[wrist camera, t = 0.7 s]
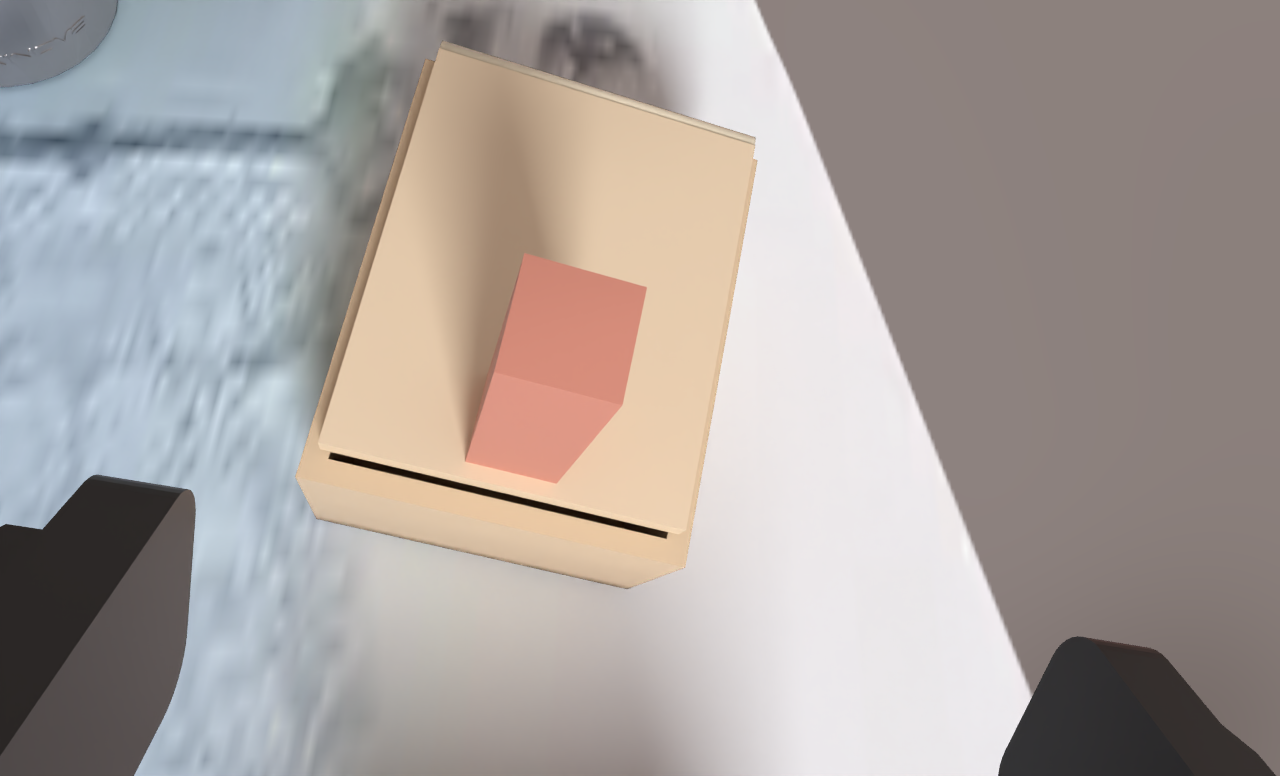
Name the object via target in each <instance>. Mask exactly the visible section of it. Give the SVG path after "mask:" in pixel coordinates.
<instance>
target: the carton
mask: <svg viewBox="0 0 1280 776" xmlns="http://www.w3.org/2000/svg"><path fill="white" fill-rule="evenodd" d="M434 63H435V61H432V60H428V59H425V62H424V65H423V69H422V72H421V75H420V78H419V81H418V85H417V88H416V91H415V94H414V98H413V101H412V104H411V107H410V110H409V114H408V117H407V120H406V123H405V126H404V130H403V133H402V136H401V139H400V142H399V146H398V149H397V152H396V155H395V159H394V162H393V165H392V168H391V171H390V175H389V178H388V181H387V184H386V187H385V191H384V194H383V197H382V200H381V203H380V207H379V210H378V213H377V216H376V219H375V223H374V226H373V229H372V232H371V236H370V239H369V242H368V245H367V248H366V252H365V255H364V258H363V261H362V264H361V268H360V271H359V274H358V277H357V280H356V284H355V287H354V290H353V293H352V297H351V300H350V303H349V306H348V309H347V313H346V316H345V319H344V322H343V325H342V329H341V332H340V335H339V338H338V341H337V345H336V348H335V351H334V354H333V358H332V361H331V364H330V367H329V370H328V374H327V377H326V380H325V383H324V386H323V390H322V393H321V396H320V399H319V402H318V406H317V409H316V412H315V415H314V419H313V422H312V425H311V428H310V431H309V435H308V438H307V441H306V444H305V447H304V451H303V454H302V457H301V460H300V463H299V467H298V470H297V473H296V476H295V477H296V479H297V481H298V483H299V485H300V487H301V489H302V491H303V493H304V495H305V497H306V499H307V501H308V503H309V505H310V507H311V509H312V511H313V513H314V515H315V517H316V519H320V520H324V521H329V522H333V523H338V524H342V525H346V526H351V527H355V528H360V529H364V530H368V531H373V532H377V533H382V534H386V535H391V536H395V537H399V538H404V539H408V540H413V541H417V542H421V543H426V544H430V545H435V546H439V547H444V548H448V549H452V550H457V551H461V552H466V553H470V554H474V555H479V556H483V557H488V558H492V559H497V560H501V561H505V562H510V563H514V564H519V565H523V566H527V567H532V568H536V569H541V570H545V571H550V572H554V573H558V574H563V575H567V576H572V577H576V578H580V579H585V580H589V581H594V582H598V583H603V584H607V585H611V586H616V587H620V588H625V589H629V588H631V587H634V586H637V585H639V584H642V583H645V582H648V581H650V580H653V579H656V578H658V577H661V576H664V575H666V574H669V573H672V572H675V571H677V570H680V569H683V568H685V565H686V560H687V554H688V548H689V543H690V537H691V531H692V526H693V520H694V515H695V509H696V503H697V498H698V492H699V486H700V481H701V475H702V470H703V464H704V458H705V453H706V447H707V441H708V436H709V430H710V425H711V419H712V413H713V408H714V402H715V396H716V391H717V385H718V380H719V374H720V368H721V363H722V357H723V351H724V346H725V340H726V335H727V329H728V323H729V318H730V312H731V306H732V301H733V295H734V289H735V284H736V278H737V273H738V267H739V261H740V256H741V250H742V244H743V239H744V233H745V228H746V222H747V216H748V211H749V205H750V199H751V194H752V188H753V183H754V177H755V171H756V166H757V160H755V159H753V160H752V166H751V172H750V177H749V183H748V188H747V194H746V199H745V205H744V211H743V216H742V222H741V227H740V233H739V238H738V244H737V250H736V255H735V261H734V266H733V272H732V277H731V283H730V289H729V294H728V300H727V305H726V311H725V316H724V322H723V328H722V333H721V339H720V344H719V350H718V355H717V361H716V367H715V372H714V378H713V383H712V389H711V394H710V400H709V406H708V411H707V417H706V422H705V428H704V433H703V439H702V445H701V450H700V456H699V461H698V467H697V472H696V478H695V484H694V489H693V495H692V500H691V506H690V511H689V517H688V523H687V528H686V531H684V532H682V533H680V534H674V533H670V532H666V531H661V530H657V529H653V528H649V527H644V526H640V525H636V524H632V523H628V522H623V521H619V520H615V519H611V518H607V517H602V516H598V515H594V514H590V513H586V512H581V511H577V510H573V509H569V508H565V507H560V506H556V505H552V504H548V503H544V502H539V501H535V500H531V499H527V498H523V497H518V496H514V495H510V494H506V493H501V492H497V491H493V490H489V489H485V488H480V487H476V486H472V485H468V484H464V483H459V482H455V481H451V480H447V479H443V478H438V477H434V476H430V475H426V474H422V473H417V472H413V471H409V470H405V469H401V468H396V467H392V466H388V465H384V464H380V463H375V462H371V461H367V460H363V459H358V458H354V457H350V456H346V455H342V454H337V453H333V452H329V451H325V450H321V449H320V447H319V445H318V440H319V437H320V434H321V431H322V427H323V424H324V421H325V418H326V414H327V411H328V408H329V405H330V401H331V398H332V395H333V392H334V388H335V385H336V382H337V379H338V375H339V372H340V369H341V366H342V362H343V359H344V356H345V353H346V349H347V346H348V343H349V340H350V336H351V333H352V330H353V327H354V323H355V320H356V317H357V314H358V310H359V307H360V304H361V301H362V297H363V294H364V291H365V288H366V284H367V281H368V278H369V275H370V271H371V268H372V265H373V262H374V258H375V255H376V252H377V249H378V245H379V242H380V239H381V236H382V232H383V229H384V226H385V223H386V219H387V216H388V213H389V210H390V206H391V203H392V200H393V197H394V193H395V190H396V187H397V184H398V180H399V177H400V174H401V171H402V167H403V164H404V161H405V158H406V154H407V151H408V148H409V144H410V141H411V138H412V135H413V131H414V128H415V125H416V122H417V118H418V115H419V112H420V109H421V105H422V102H423V99H424V96H425V92H426V89H427V86H428V83H429V79H430V76H431V73H432V70H433V66H434Z"/></svg>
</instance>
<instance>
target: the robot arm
mask: <svg viewBox="0 0 1280 776" xmlns="http://www.w3.org/2000/svg"><path fill="white" fill-rule="evenodd" d="M116 6H117V0H0V87H12V86H19V85H26V84H33V83H36V82H39V81H42V80H45V79H49V78H52V77H55V76H57V75H59V74H61V73H63V72H65V71H67V70H68V69H70V68H72V67H74V66H76V65H78V64H79V63H80V62H81V61H82V60H84V59H85V58H86V57H87V56H88V55H90V54H91V53H92V52H93V51H94V50H95V49H96V48H97V47H98V45H99V44H100V43H101V41H102V40H103V39H104V37H105V36H106V35H107V33H108V31H109V29H110V26H111V24H112V22H113V19H114V17H115V13H116ZM195 511H196V509H195V498H194V495H193V493H192V491H191V490H188V489H182V488H176V487H170V486H164V485H158V484H151V483H145V482H139V481H133V480H127V479H121V478H114V477H108V476H102V475H93V476H91V477H90V478H88V479H87V480H86V481H85V482H84V483H83V484H82V485H81V486H80V487H79V489H78V490H77V491H76V492H75V493H74V494H73V495H72V496H71V498H70V499H69V500H68V501H67V502H66V503H65V504H64V506H63V507H62V508H61V509H60V510H59V511H58V512H57V514H56V515H55V516H54V517H53V518H52V519H51V520H50V522H49V523H48V524H47V525H46V526H45V527H44V528H43V530H41V529H35V528H28V527H22V526H15V525H8V524H5V525H3V526H1V527H0V776H134V774H135V772H136V770H137V769H138V767H139V765H140V763H141V761H142V759H143V757H144V755H145V753H146V751H147V749H148V747H149V745H150V743H151V741H152V739H153V737H154V735H155V733H156V731H157V729H158V727H159V726H160V724H161V722H162V720H163V718H164V716H165V713H166V711H167V709H168V707H169V704H170V702H171V699H172V696H173V694H174V691H175V688H176V684H177V681H178V678H179V674H180V670H181V666H182V662H183V657H184V652H185V646H186V638H187V626H188V612H189V598H190V584H191V570H192V556H193V543H194V529H195ZM998 776H1276V775H1275V774H1274V773H1273V772H1272V771H1271V769H1270V768H1269V767H1268V766H1267V765H1266V763H1265V762H1264V761H1263V760H1262V759H1261V757H1260V756H1259V755H1258V754H1257V753H1256V752H1255V751H1253V750H1252V749H1251V748H1250V747H1249V746H1247V745H1246V744H1245V743H1244V742H1242V741H1241V740H1240V739H1239V738H1237V737H1236V736H1235V735H1234V734H1232V733H1231V732H1230V731H1229V730H1228V729H1226V728H1225V727H1224V726H1223V725H1222V724H1221V723H1220V722H1219V721H1218V720H1217V718H1216V717H1215V716H1214V715H1213V714H1212V712H1211V711H1210V710H1209V709H1208V708H1207V707H1206V705H1205V704H1204V703H1203V702H1202V700H1201V699H1200V698H1199V697H1198V696H1197V695H1196V693H1195V692H1194V691H1193V690H1192V689H1191V687H1190V686H1189V685H1188V684H1187V682H1186V681H1185V680H1184V679H1183V678H1182V677H1181V675H1180V674H1179V673H1178V672H1177V671H1176V669H1175V668H1174V667H1173V666H1172V665H1171V663H1170V662H1169V661H1168V660H1167V659H1166V658H1165V657H1164V656H1163V655H1162V654H1161V653H1159V652H1158V651H1156V650H1154V649H1151V648H1147V647H1140V646H1134V645H1129V644H1123V643H1116V642H1110V641H1104V640H1098V639H1092V638H1086V637H1072V638H1070V639H1068V640H1066V641H1065V642H1063V643H1062V644H1061V645H1060V646H1059V647H1058V649H1057V650H1056V651H1055V653H1054V655H1053V657H1052V658H1051V661H1050V663H1049V664H1048V667H1047V668H1046V671H1045V672H1044V674H1043V676H1042V679H1041V681H1040V682H1039V685H1038V686H1037V688H1036V690H1035V692H1034V694H1033V696H1032V698H1031V700H1030V702H1029V704H1028V706H1027V708H1026V710H1025V712H1024V714H1023V716H1022V718H1021V720H1020V722H1019V724H1018V726H1017V728H1016V730H1015V732H1014V734H1013V736H1012V738H1011V740H1010V742H1009V744H1008V746H1007V748H1006V750H1005V753H1004V755H1003V757H1002V760H1001V764H1000V768H999V774H998Z"/></svg>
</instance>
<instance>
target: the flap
mask: <svg viewBox="0 0 1280 776" xmlns="http://www.w3.org/2000/svg"><path fill="white" fill-rule="evenodd" d="M754 149H755V137H752V136H749V135H746V134H743V133H740V132H736V131H733V130H730V129H727V128H723V127H720V126H717V125H714V124H711V123H707V122H704V121H701V120H698V119H694V118H691V117H688V116H685V115H682V114H678V113H675V112H672V111H669V110H665V109H662V108H659V107H656V106H652V105H649V104H646V103H643V102H640V101H636V100H633V99H630V98H627V97H623V96H620V95H617V94H614V93H611V92H607V91H604V90H601V89H598V88H594V87H591V86H588V85H585V84H582V83H578V82H575V81H572V80H569V79H565V78H562V77H559V76H556V75H552V74H549V73H546V72H543V71H540V70H536V69H533V68H530V67H527V66H523V65H520V64H517V63H514V62H511V61H507V60H504V59H501V58H498V57H494V56H491V55H488V54H485V53H482V52H478V51H475V50H472V49H469V48H465V47H462V46H459V45H456V44H452V43H449V42H446V41H443V40H442V42H441V45H440V48H439V50H438V53H437V57H436V60H435V63H434V66H433V70H432V73H431V76H430V79H429V83H428V86H427V89H426V92H425V96H424V99H423V102H422V105H421V109H420V112H419V115H418V118H417V122H416V125H415V128H414V131H413V135H412V138H411V141H410V144H409V148H408V151H407V154H406V158H405V161H404V164H403V167H402V171H401V174H400V177H399V180H398V184H397V187H396V190H395V193H394V197H393V200H392V203H391V206H390V210H389V213H388V216H387V219H386V223H385V226H384V229H383V232H382V236H381V239H380V242H379V245H378V249H377V252H376V255H375V258H374V262H373V265H372V268H371V271H370V275H369V278H368V281H367V284H366V288H365V291H364V294H363V297H362V301H361V304H360V307H359V310H358V314H357V317H356V320H355V323H354V327H353V330H352V333H351V336H350V340H349V343H348V346H347V349H346V353H345V356H344V359H343V362H342V366H341V369H340V372H339V375H338V379H337V382H336V385H335V388H334V392H333V395H332V398H331V401H330V405H329V408H328V411H327V414H326V418H325V421H324V424H323V427H322V431H321V434H320V437H319V440H318V445H319V447H320V449H321V450H325V451H329V452H333V453H337V454H342V455H346V456H350V457H354V458H358V459H363V460H367V461H371V462H375V463H380V464H384V465H388V466H392V467H396V468H401V469H405V470H409V471H413V472H417V473H422V474H426V475H430V476H434V477H438V478H443V479H447V480H451V481H455V482H459V483H464V484H468V485H472V486H476V487H480V488H485V489H489V490H493V491H497V492H501V493H506V494H510V495H514V496H518V497H523V498H527V499H531V500H535V501H539V502H544V503H548V504H552V505H556V506H560V507H565V508H569V509H573V510H577V511H581V512H586V513H590V514H594V515H598V516H602V517H607V518H611V519H615V520H619V521H623V522H628V523H632V524H636V525H640V526H644V527H649V528H653V529H657V530H661V531H666V532H670V533H674V534H680V533H682V532H684V531H686V528H687V523H688V517H689V511H690V506H691V500H692V495H693V489H694V484H695V478H696V472H697V467H698V461H699V456H700V450H701V445H702V439H703V433H704V428H705V422H706V417H707V411H708V406H709V400H710V394H711V389H712V383H713V378H714V372H715V367H716V361H717V355H718V350H719V344H720V339H721V333H722V328H723V322H724V316H725V311H726V305H727V300H728V294H729V289H730V283H731V277H732V272H733V266H734V261H735V255H736V250H737V244H738V238H739V233H740V227H741V222H742V216H743V211H744V205H745V199H746V194H747V188H748V183H749V177H750V172H751V166H752V160H753V155H754Z"/></svg>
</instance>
